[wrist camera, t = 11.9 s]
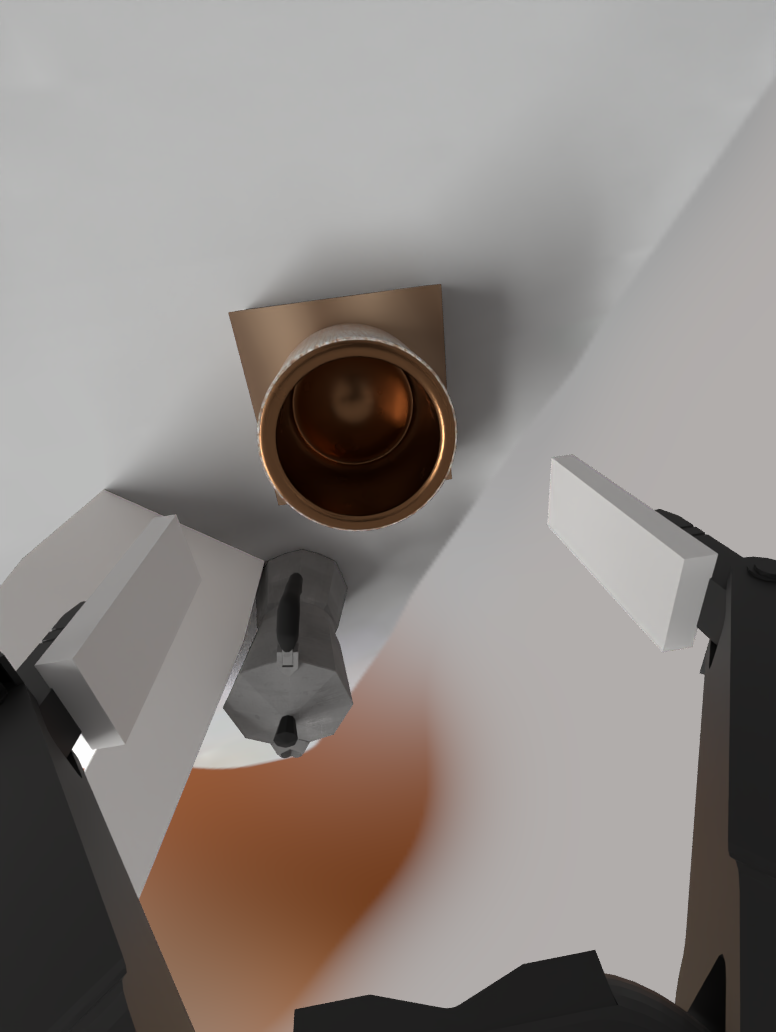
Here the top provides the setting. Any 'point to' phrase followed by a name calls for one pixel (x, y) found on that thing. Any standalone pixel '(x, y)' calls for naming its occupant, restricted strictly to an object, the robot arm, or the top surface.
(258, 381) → the plinth
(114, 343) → the top surface
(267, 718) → the coffeepot
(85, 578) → the white slotted block
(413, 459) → the planter
